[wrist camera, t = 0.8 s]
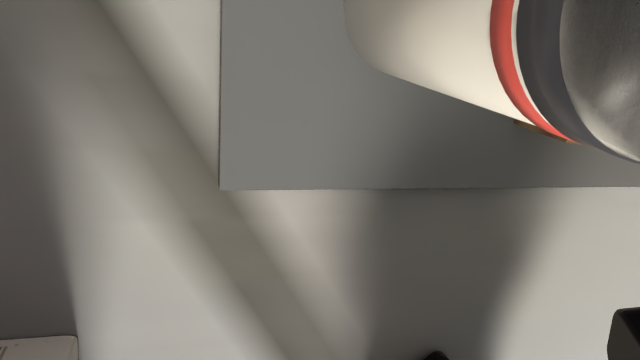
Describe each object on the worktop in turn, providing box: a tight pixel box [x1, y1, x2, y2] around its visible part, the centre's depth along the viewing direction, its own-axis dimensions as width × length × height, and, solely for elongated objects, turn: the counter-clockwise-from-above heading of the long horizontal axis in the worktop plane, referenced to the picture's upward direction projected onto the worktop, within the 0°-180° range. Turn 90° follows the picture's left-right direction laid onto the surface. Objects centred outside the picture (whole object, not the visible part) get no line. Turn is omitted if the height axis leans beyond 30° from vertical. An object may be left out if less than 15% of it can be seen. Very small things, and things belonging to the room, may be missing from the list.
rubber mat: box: [218, 0, 640, 190], centre depth 23 cm, size 24×14×1 cm, turn 86°
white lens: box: [344, 0, 640, 164], centre depth 16 cm, size 5×5×13 cm
